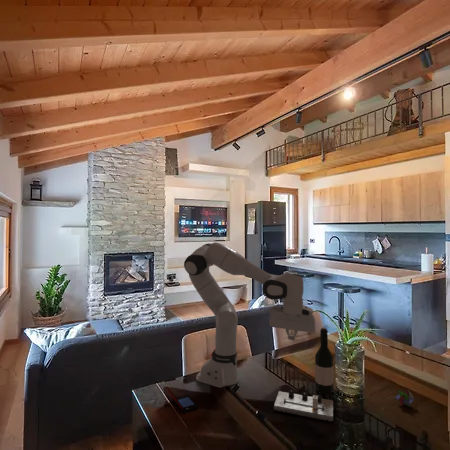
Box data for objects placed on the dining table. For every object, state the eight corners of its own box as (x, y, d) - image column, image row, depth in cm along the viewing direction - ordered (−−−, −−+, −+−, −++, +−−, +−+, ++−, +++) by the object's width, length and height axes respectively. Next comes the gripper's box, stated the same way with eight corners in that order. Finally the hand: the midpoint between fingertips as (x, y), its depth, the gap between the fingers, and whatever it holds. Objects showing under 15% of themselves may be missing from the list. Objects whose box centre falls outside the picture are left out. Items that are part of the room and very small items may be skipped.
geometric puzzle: (404, 407, 131) (411, 390, 133) (389, 400, 137) (396, 383, 140) (412, 414, 134) (419, 397, 136) (397, 406, 140) (404, 390, 142)
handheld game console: (199, 409, 133) (199, 392, 133) (175, 416, 127) (176, 398, 127) (187, 396, 143) (187, 380, 144) (165, 402, 138) (165, 385, 138)
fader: (312, 408, 130) (312, 398, 130) (313, 404, 133) (313, 394, 133) (317, 409, 129) (317, 399, 129) (317, 405, 132) (317, 395, 132)
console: (274, 410, 132) (274, 400, 132) (279, 395, 144) (279, 386, 145) (333, 421, 124) (332, 411, 124) (333, 405, 136) (332, 395, 137)
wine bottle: (334, 395, 145) (334, 331, 146) (316, 393, 146) (315, 330, 148) (332, 387, 153) (331, 326, 154) (314, 385, 154) (314, 325, 156)
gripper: (268, 307, 138) (267, 338, 138) (315, 312, 132) (314, 345, 131) (271, 304, 144) (269, 334, 144) (316, 309, 138) (315, 340, 137)
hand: (291, 339), depth 138 cm, fingers closed
